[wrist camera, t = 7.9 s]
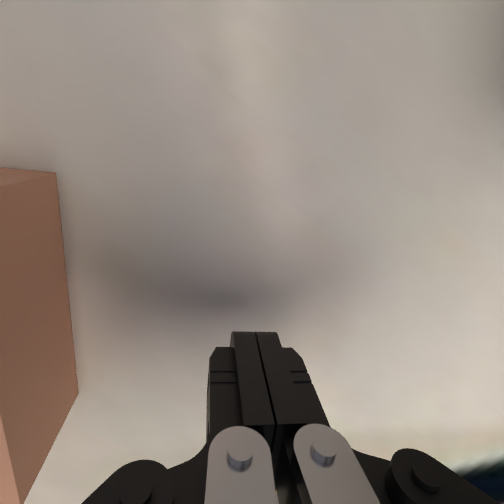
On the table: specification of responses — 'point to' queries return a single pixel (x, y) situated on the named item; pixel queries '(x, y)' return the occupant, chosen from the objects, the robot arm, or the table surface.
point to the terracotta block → (32, 329)
